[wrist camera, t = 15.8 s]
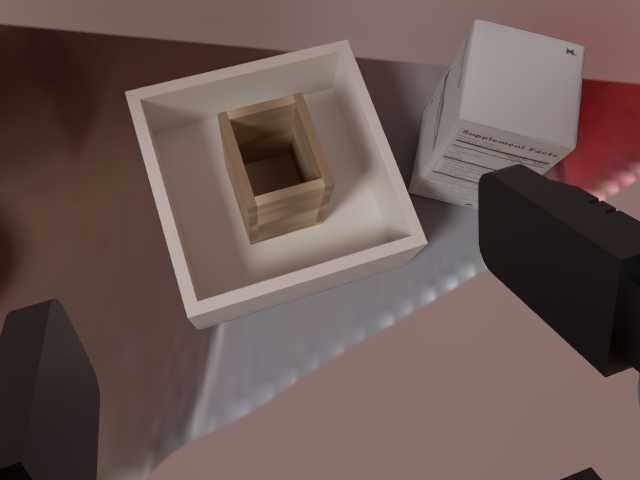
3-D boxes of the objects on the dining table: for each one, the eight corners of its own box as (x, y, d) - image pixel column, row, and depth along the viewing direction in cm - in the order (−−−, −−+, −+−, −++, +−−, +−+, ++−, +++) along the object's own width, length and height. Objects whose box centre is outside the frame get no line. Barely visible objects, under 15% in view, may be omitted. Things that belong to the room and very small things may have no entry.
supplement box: (420, 113, 47) (475, 12, 35) (507, 136, 47) (591, 43, 35) (404, 195, 45) (456, 117, 33) (494, 218, 45) (580, 149, 33)
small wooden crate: (250, 244, 41) (247, 208, 34) (225, 165, 43) (217, 113, 35) (321, 223, 42) (334, 184, 35) (294, 146, 44) (301, 92, 36)
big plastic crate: (198, 330, 40) (187, 318, 35) (142, 132, 44) (124, 91, 38) (405, 264, 43) (427, 243, 37) (337, 84, 47) (347, 39, 41)
